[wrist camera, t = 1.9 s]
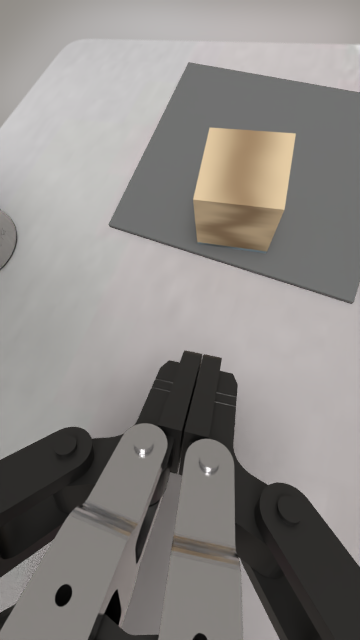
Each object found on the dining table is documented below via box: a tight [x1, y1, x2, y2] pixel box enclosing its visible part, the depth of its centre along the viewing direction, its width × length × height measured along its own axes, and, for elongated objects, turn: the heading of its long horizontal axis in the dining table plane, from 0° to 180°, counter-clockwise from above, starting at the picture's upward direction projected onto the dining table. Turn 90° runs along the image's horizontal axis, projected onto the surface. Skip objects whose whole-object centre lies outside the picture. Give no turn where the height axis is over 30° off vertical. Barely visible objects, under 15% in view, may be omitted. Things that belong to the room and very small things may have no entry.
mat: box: [109, 62, 360, 304], centre depth 30 cm, size 26×24×1 cm
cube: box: [193, 128, 296, 253], centre depth 25 cm, size 7×7×7 cm
